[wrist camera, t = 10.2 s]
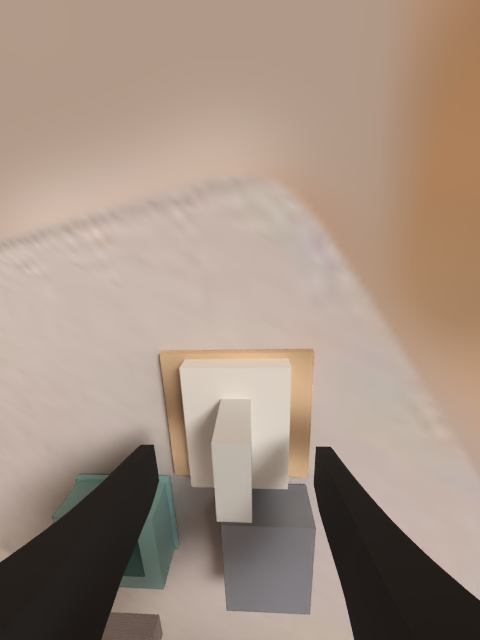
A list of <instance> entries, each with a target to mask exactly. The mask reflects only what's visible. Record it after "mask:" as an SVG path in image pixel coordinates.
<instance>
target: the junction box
mask: <svg viewBox="0 0 480 640" xmlns="http://www.w3.org/2000/svg"><path fill="white" fill-rule="evenodd" d="M220 526H221V539H222V553H223V567H224V581H225V594H226V608H227V611H247V612H268V613H288V614H309V615H310V606H311V591H312V577H313V562H314V547H315V532H316V527H315V523H314V518H313V514H312V509H311V505H310V501H309V496H308V492H307V487H306V485H300V484H288V489H252V523H246V522H221V525H220Z"/></svg>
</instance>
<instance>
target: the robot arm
mask: <svg viewBox="0 0 480 640" xmlns="http://www.w3.org/2000/svg"><path fill="white" fill-rule="evenodd" d="M158 484H159V476H158V469H157V463H156V456H155V450H154V445H140V446H139V447H138V448H137V449H136V450H135V451H134V452H133V453H132V454H131V455H130V456H128V457H127V458H126V459H125V460H124V461H123V462H122V463H121V464H120V465H119V466H118V467H117V468H116V469H115V470H114V471H113V472H112V473H111V474H110V475H109V476H108V477H107V478H106V479H105V480H104V481H102V482H101V483H100V484H99V485H98V486H97V487H96V488H95V489H94V490H93V491H92V492H90V493H89V494H88V495H87V496H86V497H85V498H84V499H83V500H81V501H80V502H79V503H78V504H77V505H76V506H75V507H73V508H72V509H71V510H70V511H69V512H67V513H66V514H65V515H64V516H63V517H61V518H60V519H59V520H58V521H56V522H55V523H54V524H52V525H51V526H50V527H49V528H47V529H46V530H45V531H43V532H42V533H41V534H39V535H38V536H37V537H35V538H34V539H33V540H31V541H30V542H28V543H27V544H25V545H24V546H23V547H21V548H20V549H18V550H17V551H16V552H14V553H13V554H11V555H10V556H9V557H7V558H6V559H5V560H3V561H1V562H0V640H101V639H102V636H103V633H104V630H105V627H106V624H107V621H108V618H109V615H110V612H111V609H112V606H113V603H114V600H115V597H116V594H117V591H118V588H119V585H120V583H121V580H122V578H123V575H124V572H125V570H126V567H127V565H128V563H129V560H130V558H131V556H132V553H133V551H134V548H135V546H136V544H137V541H138V539H139V536H140V534H141V532H142V529H143V527H144V524H145V522H146V519H147V517H148V515H149V512H150V510H151V507H152V504H153V501H154V497H155V494H156V491H157V487H158ZM314 488H315V493H316V498H317V503H318V508H319V512H320V516H321V519H322V522H323V526H324V529H325V532H326V536H327V539H328V542H329V546H330V549H331V552H332V555H333V559H334V562H335V565H336V569H337V572H338V575H339V579H340V582H341V586H342V589H343V593H344V597H345V601H346V605H347V610H348V614H349V618H350V623H351V627H352V632H353V636H354V640H480V600H478V599H477V598H476V597H475V596H473V595H472V594H471V593H470V592H469V591H468V590H466V589H465V588H464V587H463V586H462V585H461V584H459V583H458V582H457V581H456V580H455V579H454V578H452V577H451V576H450V575H449V574H448V573H447V572H446V571H444V570H443V569H442V568H441V567H440V566H439V565H438V564H436V563H435V562H434V561H433V560H432V559H431V558H430V557H429V556H428V555H427V554H425V553H424V552H423V551H422V550H421V549H420V548H419V547H418V546H417V545H416V544H415V543H414V542H413V541H412V540H411V539H410V538H409V537H408V536H407V535H406V534H405V533H404V532H403V531H402V530H401V529H400V528H399V527H398V526H397V525H396V524H395V523H394V522H393V521H392V520H391V519H390V518H389V517H388V516H387V515H386V513H385V512H384V511H383V510H382V509H381V508H380V507H379V506H378V505H377V504H376V502H375V501H374V500H373V499H372V498H371V497H370V496H369V494H368V493H367V492H366V491H365V490H364V488H363V487H362V486H361V485H360V484H359V483H358V481H357V480H356V479H355V478H354V476H353V475H352V474H351V473H350V471H349V470H348V469H347V467H346V466H345V465H344V464H343V462H342V461H341V460H340V458H339V457H338V456H337V454H336V453H335V452H334V450H333V449H332V448H331V447H316V455H315V472H314Z"/></svg>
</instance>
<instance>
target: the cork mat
mask: <svg viewBox="0 0 480 640" xmlns="http://www.w3.org/2000/svg"><path fill="white" fill-rule="evenodd" d="M159 355H160V363H161V370H162V378H163V386H164V394H165V401H166V409H167V417H168V424H169V432H170V440H171V448H172V455H173V463H174V471H175V475H190V467H189V457H188V448H187V438H186V428H185V419H184V409H183V399H182V390H181V380H180V370H179V368H180V366H181V364H182V363H183V361H184V360H185V359H289V361H290V364H291V367H292V370H291V403H290V436H289V469H288V477H307V478H308V466H309V447H310V427H311V408H312V389H313V369H314V351H313V349H283V350H195V351H161V353H160V354H159Z"/></svg>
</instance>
